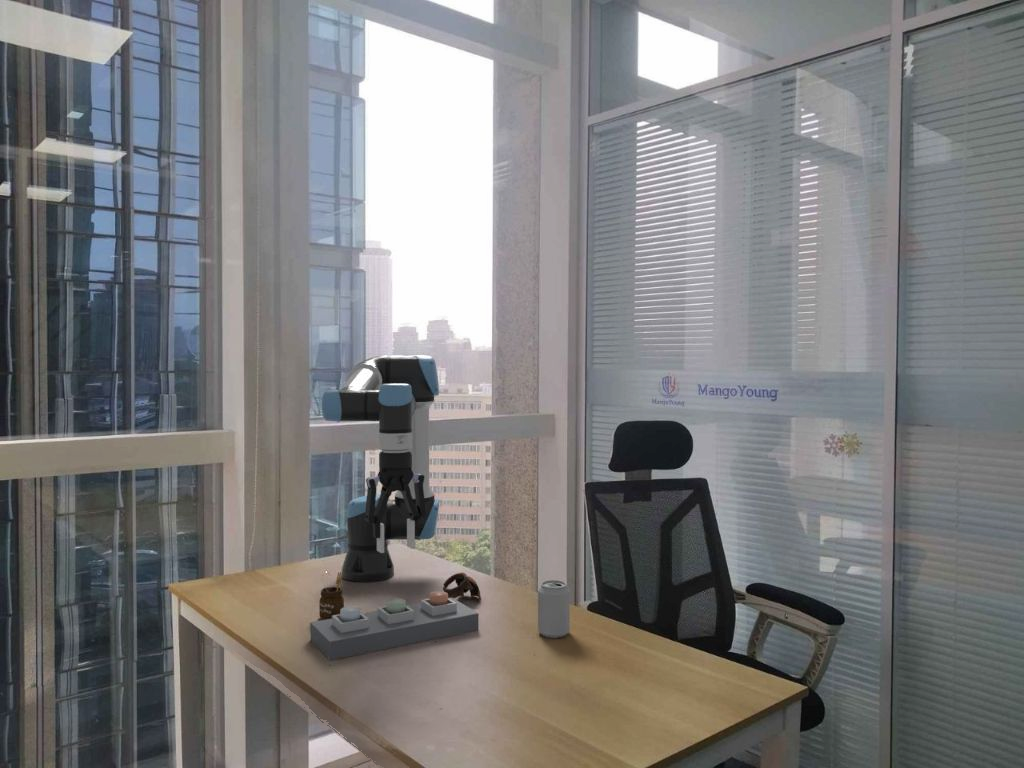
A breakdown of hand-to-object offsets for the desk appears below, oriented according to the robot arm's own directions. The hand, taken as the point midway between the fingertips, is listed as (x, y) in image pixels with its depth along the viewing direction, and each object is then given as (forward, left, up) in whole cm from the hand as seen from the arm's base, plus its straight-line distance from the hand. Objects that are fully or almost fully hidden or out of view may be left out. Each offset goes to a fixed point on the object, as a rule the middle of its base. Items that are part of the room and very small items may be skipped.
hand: (395, 549), depth 182 cm
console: (0, 0, -20) cm, 20 cm away
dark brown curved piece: (-16, +25, -20) cm, 36 cm away
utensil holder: (-19, -9, -20) cm, 29 cm away
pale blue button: (0, -11, -14) cm, 18 cm away
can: (+18, +32, -20) cm, 42 cm away
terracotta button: (0, +11, -14) cm, 18 cm away
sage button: (0, 0, -14) cm, 14 cm away
